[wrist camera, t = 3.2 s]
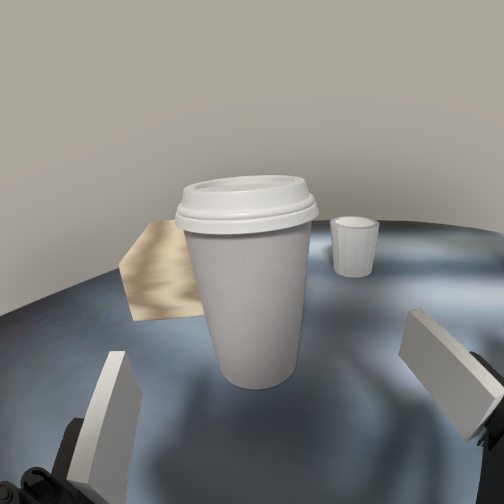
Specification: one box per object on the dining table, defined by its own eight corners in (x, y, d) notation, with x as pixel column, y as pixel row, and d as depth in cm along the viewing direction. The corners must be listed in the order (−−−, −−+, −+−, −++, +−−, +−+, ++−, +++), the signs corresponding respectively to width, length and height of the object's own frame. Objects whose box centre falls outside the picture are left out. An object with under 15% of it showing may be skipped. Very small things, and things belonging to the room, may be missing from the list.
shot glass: (329, 259, 45) (330, 215, 42) (372, 260, 43) (375, 216, 41) (328, 279, 39) (330, 227, 36) (379, 280, 37) (383, 229, 34)
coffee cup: (321, 337, 27) (324, 173, 22) (302, 413, 19) (306, 193, 13) (227, 326, 30) (210, 176, 25) (183, 388, 22) (140, 198, 16)
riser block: (264, 251, 50) (261, 210, 48) (290, 304, 33) (289, 245, 31) (157, 263, 48) (150, 222, 46) (133, 321, 31) (118, 264, 29)
